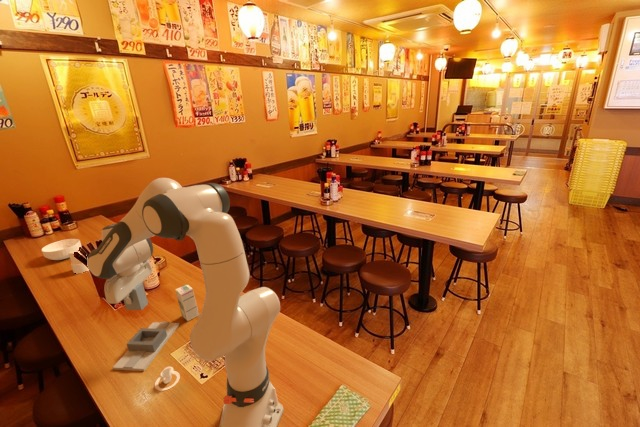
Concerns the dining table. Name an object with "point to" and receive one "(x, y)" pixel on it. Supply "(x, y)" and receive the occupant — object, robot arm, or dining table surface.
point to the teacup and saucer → (167, 378)
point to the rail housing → (145, 346)
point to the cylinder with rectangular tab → (77, 263)
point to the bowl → (61, 249)
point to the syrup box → (187, 302)
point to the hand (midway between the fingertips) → (135, 298)
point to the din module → (137, 298)
